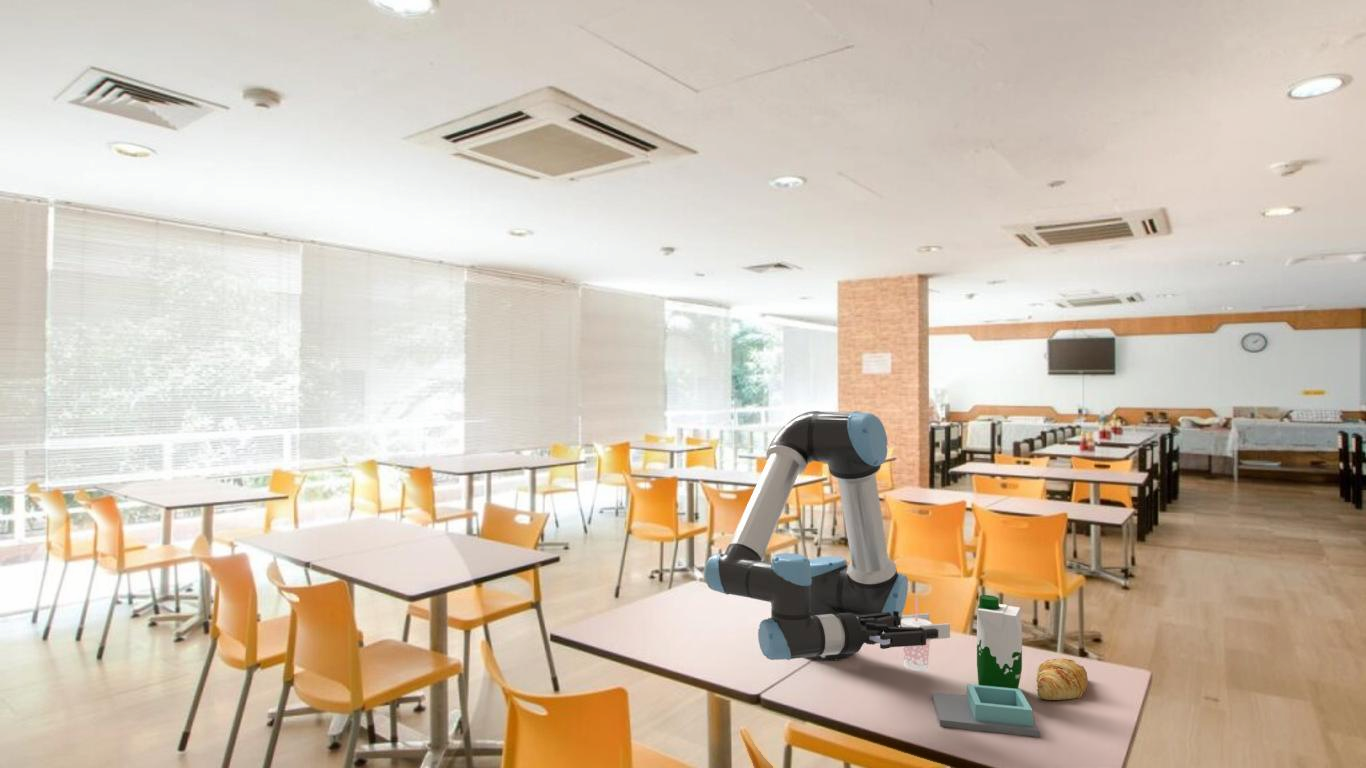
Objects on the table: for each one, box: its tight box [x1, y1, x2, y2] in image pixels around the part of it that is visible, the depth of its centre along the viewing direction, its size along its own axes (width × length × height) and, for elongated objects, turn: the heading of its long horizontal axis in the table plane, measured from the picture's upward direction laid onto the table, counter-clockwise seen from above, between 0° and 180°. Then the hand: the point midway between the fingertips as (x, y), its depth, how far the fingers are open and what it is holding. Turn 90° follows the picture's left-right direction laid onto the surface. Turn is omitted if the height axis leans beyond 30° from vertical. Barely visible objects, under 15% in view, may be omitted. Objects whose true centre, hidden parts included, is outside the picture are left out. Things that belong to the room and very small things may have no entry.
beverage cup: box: [901, 596, 933, 672], centre depth 145 cm, size 6×6×14 cm
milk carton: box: [976, 594, 1023, 689], centre depth 158 cm, size 9×9×20 cm
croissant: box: [1036, 658, 1089, 701], centre depth 158 cm, size 21×10×8 cm, turn 132°
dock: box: [931, 683, 1041, 738], centre depth 145 cm, size 18×14×4 cm
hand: (938, 625), depth 146 cm, fingers closed on beverage cup, 6 cm apart
